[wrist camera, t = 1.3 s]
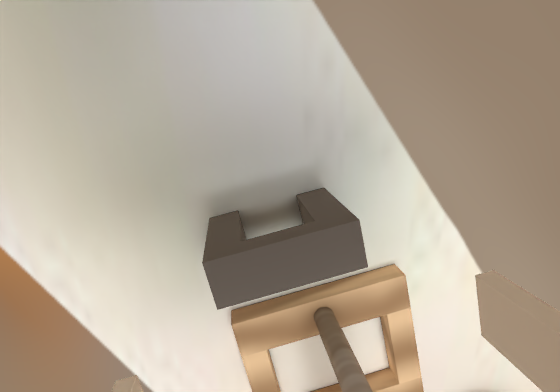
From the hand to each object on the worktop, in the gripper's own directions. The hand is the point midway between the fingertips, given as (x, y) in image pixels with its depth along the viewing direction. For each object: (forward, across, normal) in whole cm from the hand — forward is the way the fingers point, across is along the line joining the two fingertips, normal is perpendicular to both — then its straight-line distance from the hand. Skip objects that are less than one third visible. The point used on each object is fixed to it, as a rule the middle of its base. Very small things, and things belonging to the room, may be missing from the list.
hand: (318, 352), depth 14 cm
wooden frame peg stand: (+15, +2, -13) cm, 20 cm away
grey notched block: (+15, 0, 0) cm, 15 cm away
